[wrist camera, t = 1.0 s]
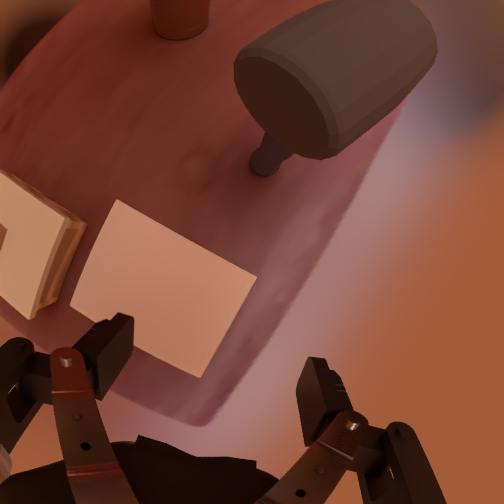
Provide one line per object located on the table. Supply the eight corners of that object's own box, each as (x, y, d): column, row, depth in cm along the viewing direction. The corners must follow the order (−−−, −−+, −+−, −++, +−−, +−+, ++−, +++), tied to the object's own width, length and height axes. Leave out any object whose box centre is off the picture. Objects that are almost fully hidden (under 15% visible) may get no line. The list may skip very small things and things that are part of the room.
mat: (70, 304, 35) (69, 305, 35) (117, 199, 36) (116, 199, 35) (200, 377, 38) (200, 378, 38) (256, 276, 39) (257, 277, 39)
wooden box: (-12, 244, 32) (-38, 245, 25) (14, 173, 32) (-11, 165, 25) (56, 301, 35) (33, 312, 28) (88, 223, 35) (65, 220, 28)
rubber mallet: (249, 214, 38) (372, 149, 9) (211, 174, 37) (226, 13, 8) (310, 157, 39) (467, 50, 10) (275, 120, 38) (380, -34, 9)
